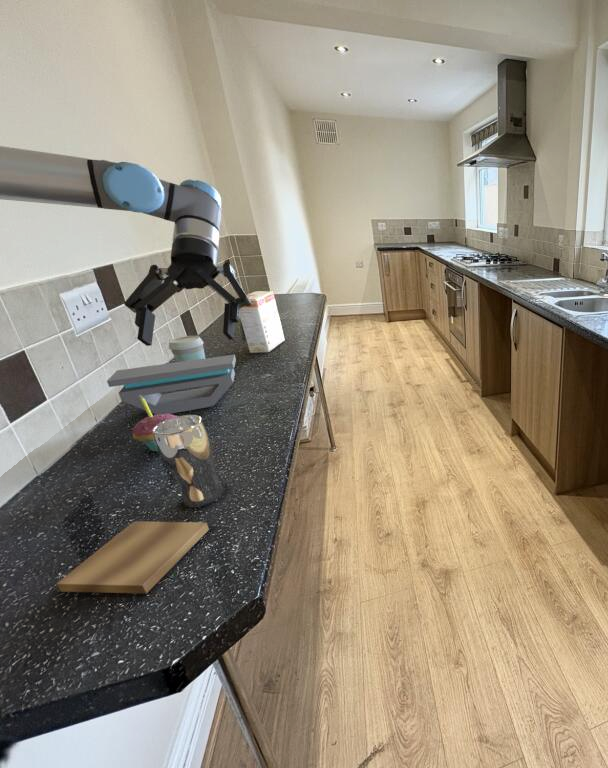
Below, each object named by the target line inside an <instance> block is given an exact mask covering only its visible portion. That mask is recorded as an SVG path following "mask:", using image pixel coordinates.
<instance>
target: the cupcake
mask: <svg viewBox="0 0 608 768" xmlns="http://www.w3.org/2000/svg"><path fill="white" fill-rule="evenodd" d="M140 397H141V399H140V400H141V402H142V404H143V406H144V408H145V410H144V411H145V412H146V414H147V416H146V417H145V418H142V419H141V420H139V421H138V422H136V423H135V426H133V428H132V430H131V431H132V437H133V439H134V440H137V441H139V442H142V443H143V444H144V445H145V446H146V447H147V448H148V449H149V450H150V451H151V452H159V451H158V448H157V445H156V441H155V437H154V434H153V432H152V430H153V428H154V427H155V426H156V425H157V424H159V423H161V422H163V421H165V420H168V419H171V418H174V417H178V415H174V414H173V413H172V414H158V415H157V414H154V415H153V413H151V411H150V409H149V407H148V405H147V403H146V401H145V399H144V398H142V396H141V395H140Z"/></svg>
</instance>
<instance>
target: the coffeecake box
mask: <svg viewBox="0 0 608 768" xmlns="http://www.w3.org/2000/svg"><path fill="white" fill-rule="evenodd" d="M274 293H275V292H274V291H273V290H270V291H269V290H267V291H266V290H265V291H264V290H263V291H262V290H258V291H253V292H251V293H248V294H246V295H247V297H248V298H249V300H250V301H251V303H252V304H251V306H249V307H248V306H244V307H242V308H241V309H240V321H241V325H242V329H243V332H244V336H245V340H246V343H247V347H248V351H249V353H250V354H258V353H270V352H271V351H273V350H274V349H275V348H277V347H278V346H279V345H280V344H282V343H283V342H285V341H286V339H285V336H284V335H285V334H284V331H283V326H282V322H281V318H280V314H279V310H278V305H277V301H276V298H275V294H274Z"/></svg>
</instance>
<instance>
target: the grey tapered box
mask: <svg viewBox="0 0 608 768" xmlns="http://www.w3.org/2000/svg"><path fill="white" fill-rule="evenodd" d="M236 362H237V359H236V354H228V355H221V356H213V357H212V356H211V357H205V359H198V360H190V361H183V362H177V361H176V362H169V363H162V364H154V365H146V366H139V367H130V368H125V369H124V368H123V369H118V370H115V372H114V373H113V374H112V375H111V376H110V377H108V379H107V380H106V383H107V385H108V388H112V387H119V386H123V387H122V388H121V389H120V390H119V391H118V395H119V399H120V400H121V402H123V403H126V404H128V405H131V406H133V407H136V408H138V409H142V410H143V411H146V410H145V408H144V406H143V404H142V402H141V400H140V399H141V397H140V395H141V396H142V398H144V399H145V401H146V403H147V405H148V407H149V409H150V411H151V413H152V415H153V414H154V415H156V414H157V415H158V414H172V415H173V414H177V413H181V412H189V411H194V410H199V409H205V408H210V407H211V408H212V407H214V406H215V405H216V404H217V402H218V401H219V400H220V399H221V398H222V397H223V396H224V394H226V392H227V391H228V390H229V389H230V387H231V386H232V385H233V384H234V381H235V376H236V372H235V365H236Z"/></svg>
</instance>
